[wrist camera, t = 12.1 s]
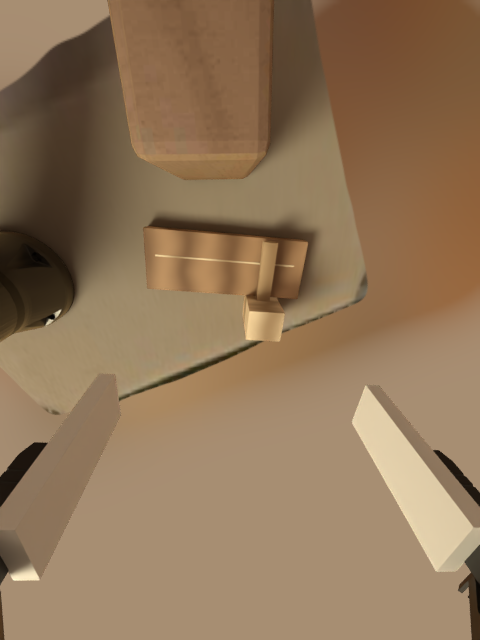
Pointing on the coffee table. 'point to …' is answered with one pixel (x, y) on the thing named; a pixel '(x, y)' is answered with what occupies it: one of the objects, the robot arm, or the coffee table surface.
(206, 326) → the coffee table surface
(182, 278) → the board
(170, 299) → the coffee table surface
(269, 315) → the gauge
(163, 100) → the wooden block
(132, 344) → the coffee table surface
